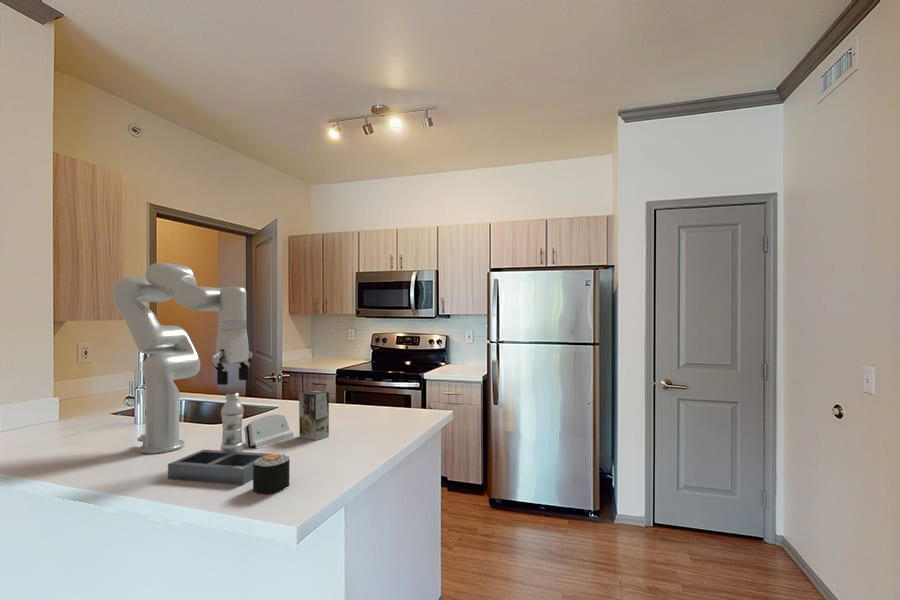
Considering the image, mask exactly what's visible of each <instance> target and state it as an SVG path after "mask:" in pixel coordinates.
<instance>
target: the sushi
mask: <svg viewBox="0 0 900 600" xmlns="http://www.w3.org/2000/svg"><path fill="white" fill-rule="evenodd" d="M269 454H270V455H267V456H266V455H265V457H262V458H261V457H260V458H259V459H258V458H257V459H256V461H254V462H253V479H252V485H253V486H252V491H253V492H254V493H256V494H260V493H261V495H272V494H276V493H275V492H277V493H279V492H278V491H280V490H282V489H284V488H286V487H288V486H289V487H290V455H287V454H285V453H282V454H280V453H269ZM289 487H288V488H289ZM286 489H287V488H286ZM284 490H285V489H284ZM282 491H283V490H282ZM280 492H281V491H280ZM271 493H272V494H271Z"/></svg>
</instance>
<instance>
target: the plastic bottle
mask: <svg viewBox="0 0 900 600" xmlns="http://www.w3.org/2000/svg"><path fill="white" fill-rule="evenodd" d="M239 399H240V392H237V391H233V392H232V391H231V392H227V393H226V394H225V400H226V402H225V403H223V404H224V405H222V407H221V411H220V417H221V422H222V437H221V444H220V450H219V451H234V452H244V444H243V436H242V434H243V433H242V427H243V426H242V425H243V417H244V412H245V410H244V406H243V405H242V403H241V402H240V400H239Z"/></svg>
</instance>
